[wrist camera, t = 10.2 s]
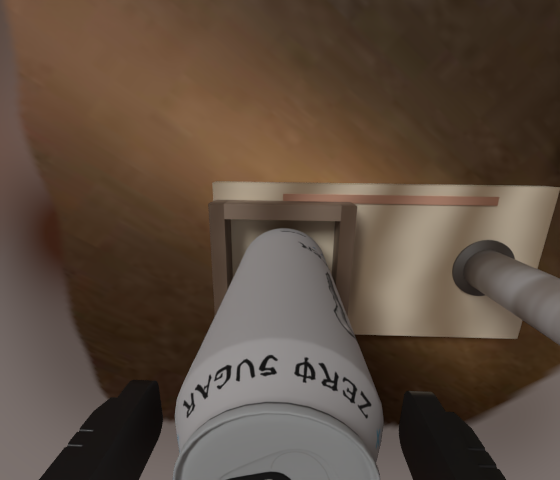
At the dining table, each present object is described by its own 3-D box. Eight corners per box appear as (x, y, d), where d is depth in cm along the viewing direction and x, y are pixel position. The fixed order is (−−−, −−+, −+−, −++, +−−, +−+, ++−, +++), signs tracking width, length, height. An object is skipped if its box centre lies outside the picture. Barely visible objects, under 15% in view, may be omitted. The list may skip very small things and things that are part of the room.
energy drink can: (332, 289, 21) (427, 558, 7) (258, 308, 22) (200, 591, 7) (312, 215, 20) (381, 359, 5) (233, 237, 20) (100, 420, 6)
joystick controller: (544, 186, 20) (841, 214, 9) (505, 330, 23) (692, 474, 13) (216, 181, 21) (138, 202, 10) (223, 322, 24) (170, 454, 13)
